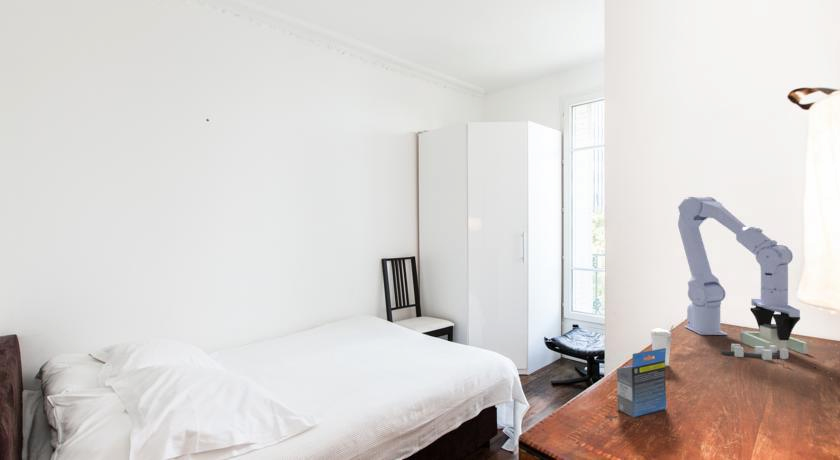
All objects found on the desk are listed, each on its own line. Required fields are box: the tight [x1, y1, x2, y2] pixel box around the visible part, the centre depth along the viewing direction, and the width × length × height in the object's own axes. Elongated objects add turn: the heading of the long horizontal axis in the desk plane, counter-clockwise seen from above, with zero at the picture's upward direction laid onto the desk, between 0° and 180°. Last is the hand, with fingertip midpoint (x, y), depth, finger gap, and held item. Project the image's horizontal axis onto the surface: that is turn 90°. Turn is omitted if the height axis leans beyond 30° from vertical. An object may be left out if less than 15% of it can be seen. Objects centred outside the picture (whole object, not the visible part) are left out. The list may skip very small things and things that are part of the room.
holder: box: [739, 331, 808, 355], centre depth 111 cm, size 10×10×3 cm
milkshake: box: [650, 325, 674, 367], centre depth 100 cm, size 4×5×10 cm
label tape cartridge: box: [616, 348, 667, 418], centre depth 77 cm, size 9×4×12 cm, turn 110°
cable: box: [719, 349, 790, 359], centre depth 105 cm, size 4×17×1 cm, turn 84°
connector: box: [759, 323, 788, 352], centre depth 111 cm, size 4×4×7 cm
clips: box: [730, 343, 789, 361], centre depth 105 cm, size 6×12×2 cm, turn 84°
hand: (773, 336), depth 111 cm, fingers open, 6 cm apart
